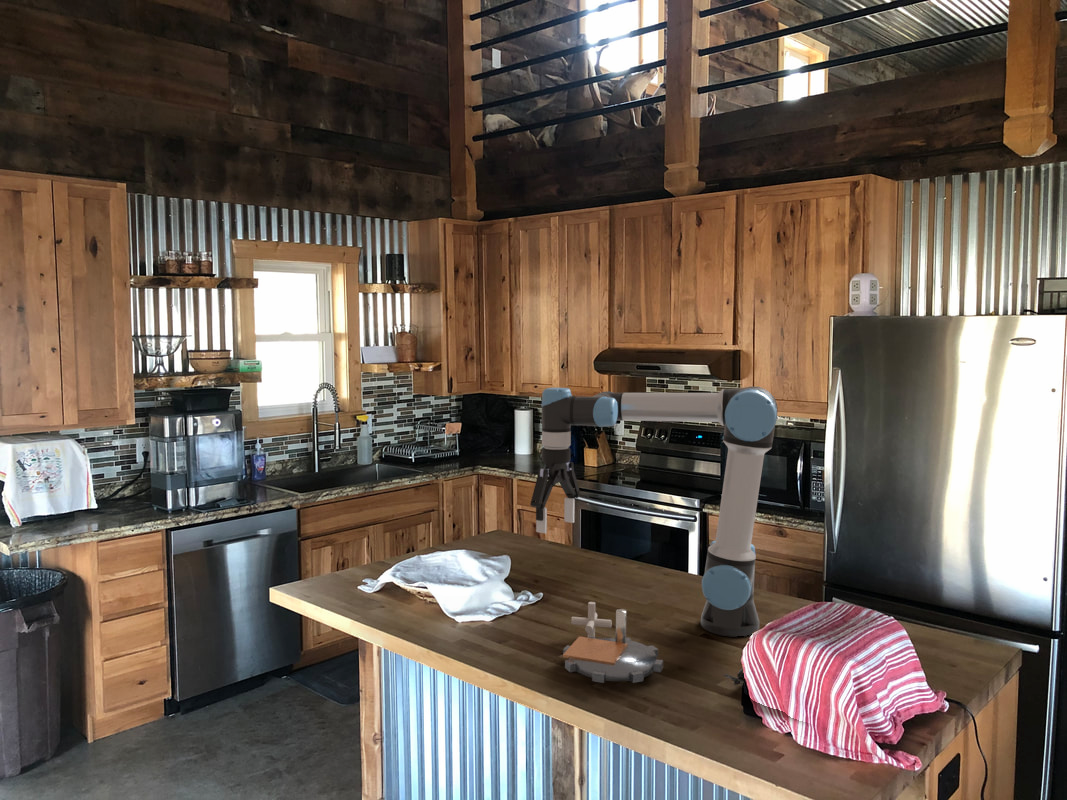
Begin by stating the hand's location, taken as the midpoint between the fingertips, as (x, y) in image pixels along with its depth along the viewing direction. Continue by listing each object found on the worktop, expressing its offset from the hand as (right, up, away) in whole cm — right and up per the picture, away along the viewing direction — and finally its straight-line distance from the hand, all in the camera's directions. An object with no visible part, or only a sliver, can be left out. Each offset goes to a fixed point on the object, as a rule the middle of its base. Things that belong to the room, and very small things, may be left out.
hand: (555, 527), depth 224 cm
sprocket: (+12, -27, -28) cm, 41 cm away
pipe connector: (+9, -28, -9) cm, 30 cm away
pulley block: (+51, -32, -42) cm, 73 cm away
